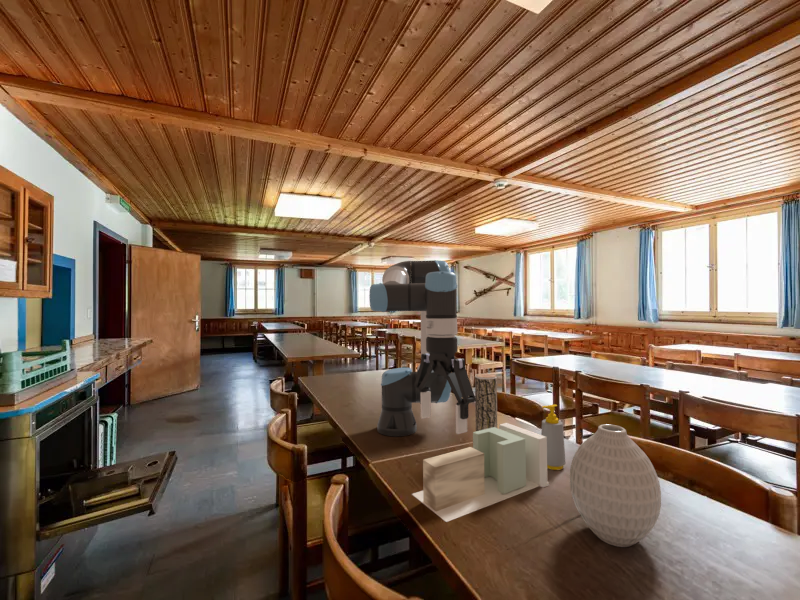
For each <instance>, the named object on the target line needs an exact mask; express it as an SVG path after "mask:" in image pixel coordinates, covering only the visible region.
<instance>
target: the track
mask: <svg viewBox="0 0 800 600" xmlns="http://www.w3.org/2000/svg"><path fill="white" fill-rule="evenodd" d="M498 426H499V427H498V429H501V430H503V431H506V432H509V433H511V434H514V435H516V436H519V437H522V438H524V439H525V454H526V486H524V487H521V488H518V489H516V490H513V491H510V492H508V493H505V494H503V493H501V492H499V491H498V480H496V479H495V478H493V477H491V476H487V477H484V482H485V494H483V495H480V496H477V497H474V498H472V499H469V500H466V501H463V502H461V503H458V504H455V505H452V506H450V507H447V508H444V509H441V510H438V511H435V510H433V509H432V508H431V507H430V506H428V505H427V504H426V503H425V502H423V490H420V491H417V492H413V493H411V496H413V497H414V498H415V499H417V500H418V501H419V502H420V503H421V504H423V505H424V506H425V507H427V508H428V509H429V510H430V511H432V512H433V513H434V514H436V516H438V517H439V518H440V519H442V521H444V522H446V523H448V522H450V521H453V520H456V519H458V518H461V517H463V516H466V515H468V514H472V513H474V512H476V511H479V510H481V509H484V508H486V507H490V506H492V505H494V504H497V503H499V502H502V501H504V500H507V499H510V498H512V497H515V496H517V495H519V494H523V493H525V492H527V491H531V490H533V489H535V488H539V487H541V488H545V487H547V486H549V485H550V482H549V481H548V468H547V437H545V436H543V435H541V434H539V433H536V432H533V431H531V430H528V429H526V428H522V427H520V426H517V425H514V424H511V423H509V422H504V423H500V424H499V425H498Z"/></svg>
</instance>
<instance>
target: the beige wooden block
mask: <svg viewBox="0 0 800 600" xmlns="http://www.w3.org/2000/svg"><path fill="white" fill-rule="evenodd" d="M422 476H423V477H422V482H423V485H422V486H423V489H422V491H423V502H425V503H426V504H427V505H428V506H430V507H431V508H432V509H433V510H435V511H438V510H441V509H444V508H447V507H450V506H452V505H455V504H458V503H461V502H463V501H466V500H469V499H472V498H474V497H477V496H480V495H483V494H485V482H484V453H482V452H480V451H478V450H476V449H474V448H473V446H468V447H465V448H461V449H458V450H454V451H451V452H447V453H442V454H439V455H436V456H435V455H434V456H432V457H428V458H424V459H423V460H422Z"/></svg>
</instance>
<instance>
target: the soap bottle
mask: <svg viewBox="0 0 800 600" xmlns="http://www.w3.org/2000/svg"><path fill="white" fill-rule="evenodd" d="M555 407H558V405H557V404H555V403H553V404H550V405H549V404H547V405H542V406H541V408H542V409H547V410H549V412H550V413H548V414H547V417H545V419H543V420H541V434H540V435H543V436H545V437H547V470H553V471H561V470H563V468H564V466H565V465H566V449H565V438H564V437H565V435H564V423H563V421H561V420H559V418H558V417H557V414H555V409H556V408H555Z"/></svg>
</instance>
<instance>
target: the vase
mask: <svg viewBox="0 0 800 600" xmlns="http://www.w3.org/2000/svg"><path fill="white" fill-rule="evenodd" d="M569 471H570V472H569V487H570V492H571V497H572V501H573V502H574V505H575V507H576V509H577V512H578V513H579V515H580V517H581V519H582V520H583V521H584V523H585V525H586V526H587V527H588V528H589V529H590V530H591V531H592V532H593V534H594V535H595V536H596V537H597V538H598V539H599V540H600V541H603V542H604V543H605V544H608V545H611V546H614V547H618V548H619V547H620V548H628V547H631V546H633V545H635V544H638V543H639V542H640V541H641V542H642V540H643V539H644V538H646V537H647V536H648V534H650V533H651V531H652V530H653V528H655V526H656V524H657V521H658V519H659V516H660V513H661V508H662V491H661V484H660V483H661V482H660V480H659V477H658V474H657V472H656V470H655V467H654V465H653V463H652V462H651V460H650V458H649V457H648V456H647V454H646V453H645V452H644V451H643V449H641V448H640V447H639V445H638V444H637V443H636V442H635V441H634V440H633V439H632V438H631V437H629V435H628V434H627V429H625V428H624V427H622V426H620V425H615V424H607V423H606V424H600V425H598V426H597V430H596V432H595V433H593V434H592V435H590V436H589V437H588V438H586V439H585V440H584V441H583V442H582V443H581V444H580V445H579V446H578V448H577V450H576V451H575V453H574V455H573V458H572V460H571V464H570V470H569Z"/></svg>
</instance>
